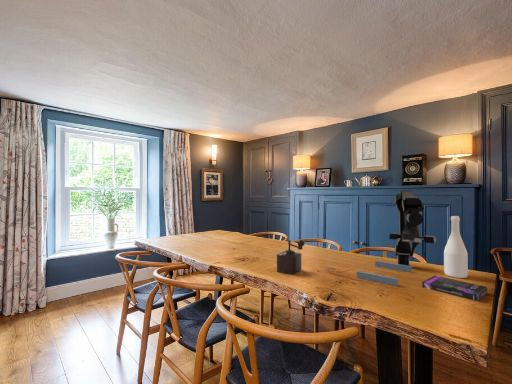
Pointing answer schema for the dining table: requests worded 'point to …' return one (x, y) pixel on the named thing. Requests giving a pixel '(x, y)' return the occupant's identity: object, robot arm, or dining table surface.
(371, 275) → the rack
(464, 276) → the wine bottle
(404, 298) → the dining table surface
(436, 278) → the box
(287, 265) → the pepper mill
